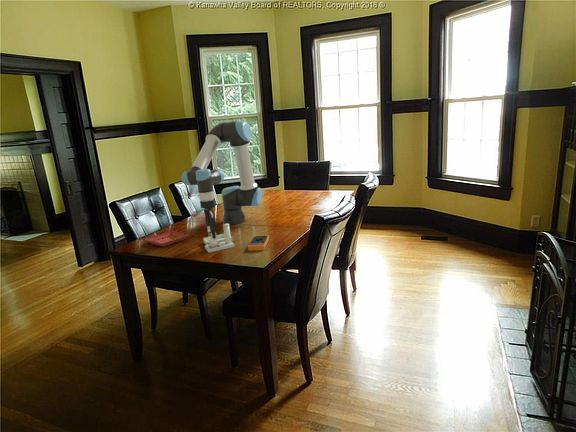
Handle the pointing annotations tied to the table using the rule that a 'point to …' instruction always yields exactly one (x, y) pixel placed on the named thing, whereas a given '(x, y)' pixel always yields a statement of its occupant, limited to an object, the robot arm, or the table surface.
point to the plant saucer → (166, 240)
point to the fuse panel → (219, 246)
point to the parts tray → (219, 239)
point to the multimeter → (258, 243)
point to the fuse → (227, 233)
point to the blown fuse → (210, 239)
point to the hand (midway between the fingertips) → (213, 242)
